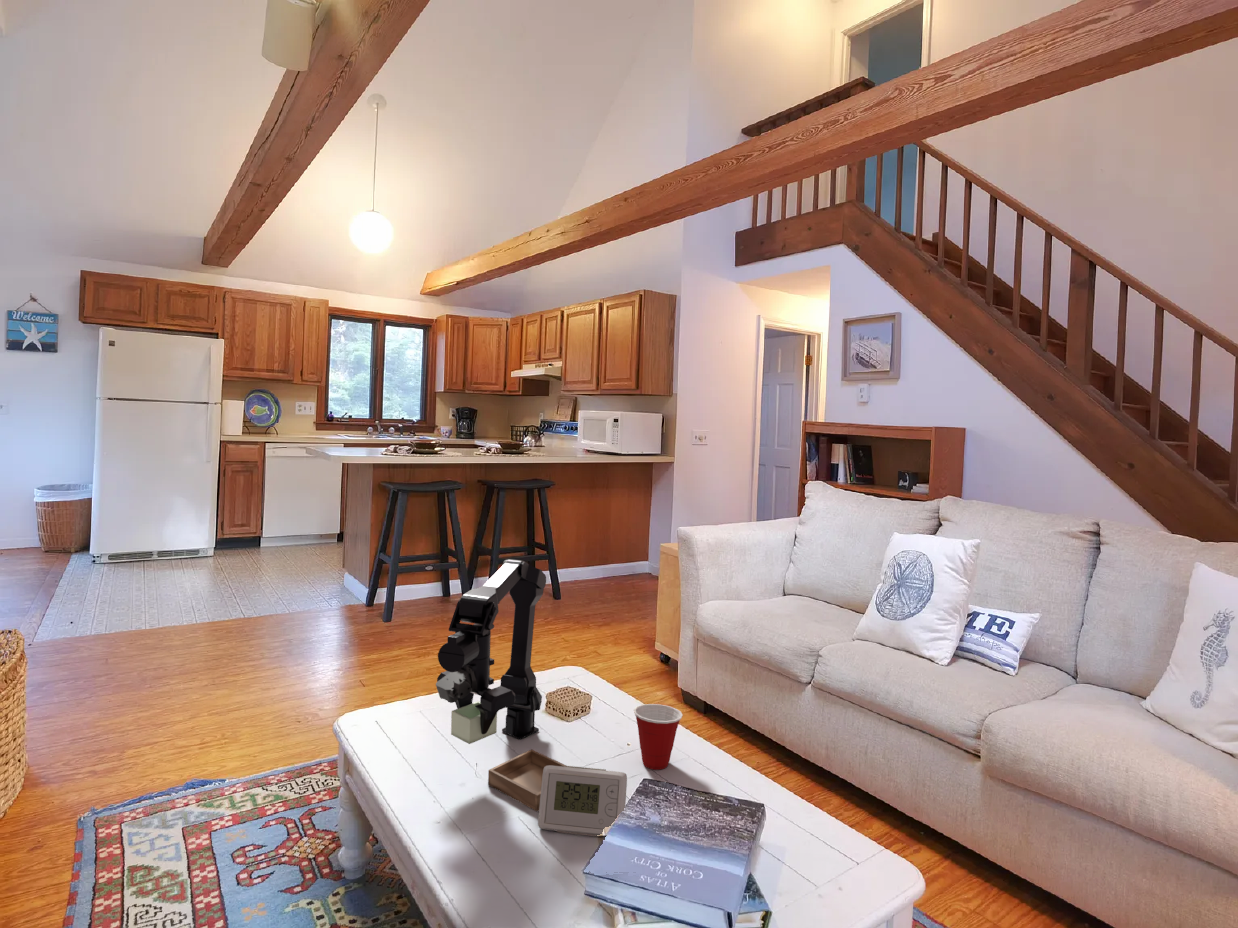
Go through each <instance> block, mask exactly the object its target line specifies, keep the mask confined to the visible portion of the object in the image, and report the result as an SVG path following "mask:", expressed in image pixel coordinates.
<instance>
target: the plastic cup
mask: <svg viewBox="0 0 1238 928" xmlns="http://www.w3.org/2000/svg"><path fill="white" fill-rule="evenodd" d="M633 712H634V715H635V719H636V724H637V732H638V740H639V749H640V752H641V761H642V763H643V764H642V765H643V766H644V767H645V768H648V769H650V770H657V771H659V770H664V769H666V768H667V767H668V766H669V763H670V760H671V755H672V751H673V748H674V743H675V740H676V739H675V738H676V734H677V729H678V727H679V723H680V721H681V720H682V718H683V715H684V714H683V713H682V711H681V710H679V709H677V708H675V707H673V706H670V705H664V704H659V703H657V704H656V703H648V704H647V703H646V704H641V705H637V706H635V708H634V709H633Z"/></svg>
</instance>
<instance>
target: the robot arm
mask: <svg viewBox="0 0 1238 928" xmlns="http://www.w3.org/2000/svg"><path fill="white" fill-rule="evenodd" d="M546 584H547V576H546V574H545V573H544V572H543V570H542V569H541V568H537V567H535V566H533V565H531V564H529V563H528V562H527V561H524V560H520V559H512V558H511V559H509V558H508V559H505V560H503V563H502V566H501V567H500V568H499V569H498V570H497V571H496V572H495V573H494V574H493V575H492V576H491V577H490V578H489V579H487V581H486V582H485V583H484V584H482V585H481V586H480V587H476V588H473V589H470V590H468V591H467V592H465V593H464V594H462V596H461V597H460V598H459V600H458V601H457V603H456V606H455V610H454V612H453V615H452V617H451V621H450V624H449V627H448V631H449V632H455V633H454V634H450V635H449V636H447V642H446V643H444V644H443V645H442V646H440V648H439V650H438V653H437V661H438V663H439V665H440V666H441V668H442V669H444V670H445V671H443V672H440V674H439V675H438V676H437V678H436V680H437V681H436V683H435V687H436V690H437V693H438V696H439V698H440V699H441V700H442V699H443V700H444V701H447V702H448V703H450V704H453V703H455V707H456V709H458V708H461V707H464V706H467V705H469V704H472V703H473V700H474V696H475V695H477V696H480V698H479V699H480V703H481V704H479V705H476V706H475V707H476V708H477V709H478V710H479V711H480V720H481V733H482V734H486V733H487V731H488V730H489V728H490V726H491V724H492V722H493V720H494V718H495V716H496V714H497V715H498V713H499V711H501V710H503V709H506V715H505V727H504V728H501V732H502V733H505V734H507V735H509V736H510V737H512V738H513V737H514V738H516V739H518V740H522V739H524V738H527V737H529V736H531V735H533V734H535V733H537V732H540V728H539V727H537V726H535V716H536V715H535V712H536V711H540V710H541V705H542V701H543V695H542V694H541V692H540V691H539V689H538V688H537V676H536V674H535V673H534V670H533V669H532V667H531V663H532V651H533V650H532V649H533V637H534V625H535V613H536V605H537V603H538V602H539V600H540V599H541V598H542V597H543V594H544V589H545V587H546ZM508 593H509V595H510V597H511V600H512V602H513V604H514V615H513V627H512V638H511V650H510V662H509V668H508V669H507V670H506V671H505V673H504V674H502V675H501V677H500V685H499V686H497V687H493V688H490V687H489V686H491V685H494V683H495V679H494V678H493V677H490V676H491V675H490V674H491V673H490V672H491V670H490V669H491V668H490V667H491V666H493V665H495V659H494V658H491V636H492V635H491V633H492V630H493V629H494V628H495V625H494V622H495V620H496V618H497V615H498V614H499V612H500V610H499V604H500V602H501V601H502V600H503V599H504V598H505V597H506V596H507V594H508ZM463 622H464V623H463Z"/></svg>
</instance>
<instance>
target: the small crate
mask: <svg viewBox="0 0 1238 928" xmlns="http://www.w3.org/2000/svg"><path fill="white" fill-rule="evenodd" d="M479 704H481V703H480V701H479V700H477V701H475V702H472V704H469V705H467V706H464V707H461V708H458V709H457V708H456V709H454V710H451V716H450V717H451V721H450V722H451V724H450V725H451V727H450V735H451V736H452V737H455V738H457V739H459V740H461V741H462V742H463V743H464V742H465V743H466V744H468V745H471V744H473V743H476V742H478V741H480V740H483V739H485V738H487V737H490V736H493V735H495V734H497V732H498V731H497V730H498V729H497V728H498V727H497V726H498V713H497V714H496V716H495V718H494V720H493V722H492V724H491V726H490V728H489V730H488V731H487V733H486V734H482V733H481V720H480V711H479V710H478V709H477V708H476V707H475V706H476V705H479Z"/></svg>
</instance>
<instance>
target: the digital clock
mask: <svg viewBox="0 0 1238 928" xmlns="http://www.w3.org/2000/svg"><path fill="white" fill-rule="evenodd" d="M627 786H628V777H627V774H626V773H625V772H623V771H613V770H607V769H605V768H603V769H602V768H593V767H585V766H584V767H582V766H574V765H572V766H571V765H566V766H565V767H563V766H553V765H548V766H545V767H544V770H543V776H542V786H541V796H540V807H539V811H538V817H537V818H538V819H537V826H538V828H539V829H542V830H544V831H545V830H546V831H556V833H563V834H570V835H571V834H572V835H581V836H582V835H583V836H589V837H590V836H591V837H598V836H597V835H600V834H602V832H603V829H604V828H605V827H609V826H611V824H612V823H613V822H614V821H615V819H616V818H617V816H618V815H619V814H620V813H621V812H622V811H624V808H625V809H626V803H627V802H626V801H627V800H626V799H627Z"/></svg>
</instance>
